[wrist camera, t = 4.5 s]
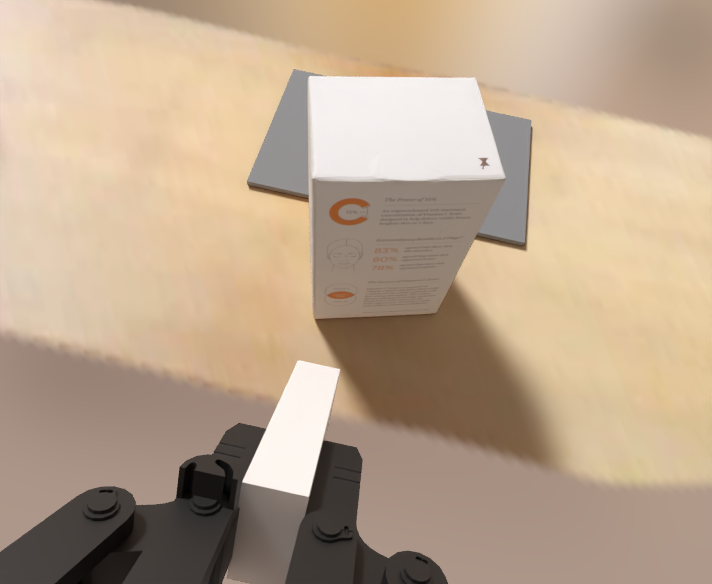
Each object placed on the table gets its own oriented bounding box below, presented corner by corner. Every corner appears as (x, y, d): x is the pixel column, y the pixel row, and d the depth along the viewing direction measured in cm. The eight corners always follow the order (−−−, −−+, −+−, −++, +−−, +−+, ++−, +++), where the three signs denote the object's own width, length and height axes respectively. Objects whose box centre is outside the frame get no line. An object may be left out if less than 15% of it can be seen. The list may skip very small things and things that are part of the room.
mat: (529, 123, 40) (531, 120, 40) (522, 245, 34) (524, 242, 34) (293, 73, 41) (293, 69, 40) (247, 184, 35) (247, 181, 34)
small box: (422, 233, 34) (480, 73, 23) (437, 315, 31) (511, 179, 20) (307, 236, 33) (305, 70, 22) (311, 321, 30) (311, 181, 19)
